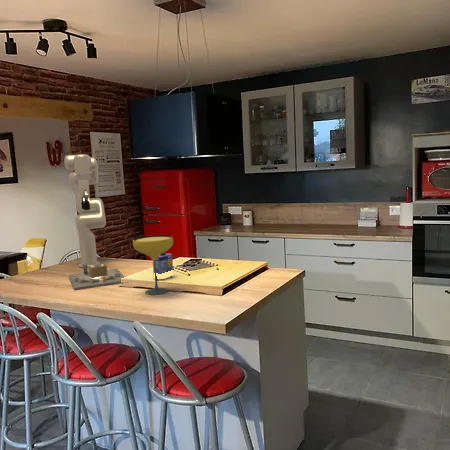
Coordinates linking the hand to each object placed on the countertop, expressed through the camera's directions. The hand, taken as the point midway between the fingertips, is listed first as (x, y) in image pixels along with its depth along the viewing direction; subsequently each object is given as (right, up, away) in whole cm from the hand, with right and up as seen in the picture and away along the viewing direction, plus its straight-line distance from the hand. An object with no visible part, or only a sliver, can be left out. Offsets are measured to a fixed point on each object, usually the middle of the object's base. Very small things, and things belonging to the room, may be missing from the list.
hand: (85, 209), depth 255 cm
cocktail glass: (+44, -39, -38) cm, 70 cm away
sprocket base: (+8, -37, -8) cm, 39 cm away
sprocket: (+8, -36, -8) cm, 38 cm away
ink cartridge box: (+44, -36, -12) cm, 58 cm away
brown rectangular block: (+10, -35, -13) cm, 38 cm away
